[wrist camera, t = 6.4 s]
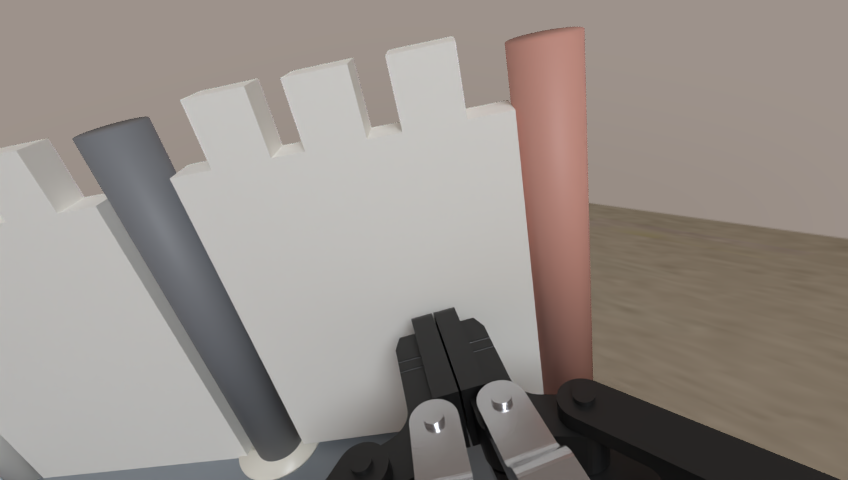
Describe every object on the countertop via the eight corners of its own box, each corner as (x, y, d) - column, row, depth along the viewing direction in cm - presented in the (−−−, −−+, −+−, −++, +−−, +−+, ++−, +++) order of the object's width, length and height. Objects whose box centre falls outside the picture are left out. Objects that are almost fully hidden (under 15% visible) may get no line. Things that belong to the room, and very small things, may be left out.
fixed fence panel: (-2, 490, 20) (-301, 218, 14) (33, 450, 22) (-217, 191, 15) (296, 460, 19) (122, 131, 12) (309, 420, 20) (162, 112, 14)
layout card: (-131, 640, 16) (-142, 633, 16) (244, 258, 37) (241, 253, 37) (625, 853, 9) (626, 848, 9) (561, 237, 30) (561, 231, 30)
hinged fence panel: (301, 452, 18) (125, 113, 12) (312, 412, 20) (164, 97, 13) (600, 413, 17) (595, 11, 11) (584, 374, 19) (571, 8, 12)
